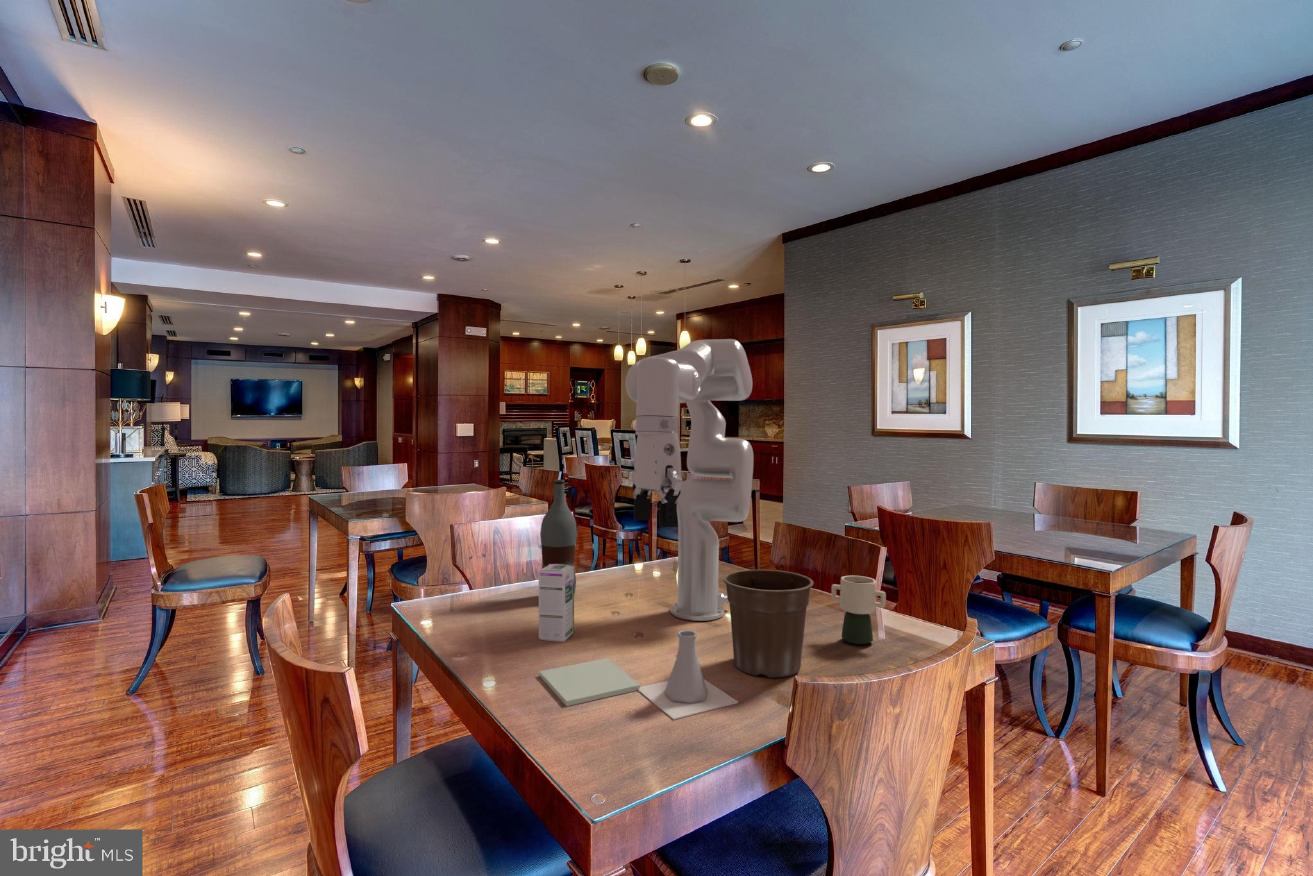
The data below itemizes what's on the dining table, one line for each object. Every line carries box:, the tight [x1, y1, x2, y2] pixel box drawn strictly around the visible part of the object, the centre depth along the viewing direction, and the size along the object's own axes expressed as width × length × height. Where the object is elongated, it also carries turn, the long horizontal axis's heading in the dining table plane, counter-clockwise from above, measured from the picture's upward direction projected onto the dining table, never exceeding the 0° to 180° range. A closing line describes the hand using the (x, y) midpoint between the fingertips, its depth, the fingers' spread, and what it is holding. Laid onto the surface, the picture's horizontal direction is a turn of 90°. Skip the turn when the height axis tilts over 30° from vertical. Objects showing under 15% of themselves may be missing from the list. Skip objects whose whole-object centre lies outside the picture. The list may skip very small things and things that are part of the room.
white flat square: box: [637, 679, 739, 721], centre depth 98 cm, size 12×12×1 cm
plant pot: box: [723, 569, 814, 679], centre depth 111 cm, size 16×16×16 cm
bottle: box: [539, 479, 578, 595], centre depth 152 cm, size 9×9×30 cm
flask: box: [664, 629, 708, 703], centre depth 98 cm, size 7×7×10 cm
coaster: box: [538, 658, 641, 707], centre depth 103 cm, size 13×13×1 cm
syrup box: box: [538, 564, 575, 643], centre depth 125 cm, size 6×6×14 cm
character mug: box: [830, 575, 887, 645], centre depth 125 cm, size 11×7×13 cm, turn 58°
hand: (654, 523), depth 108 cm, fingers open, 9 cm apart
